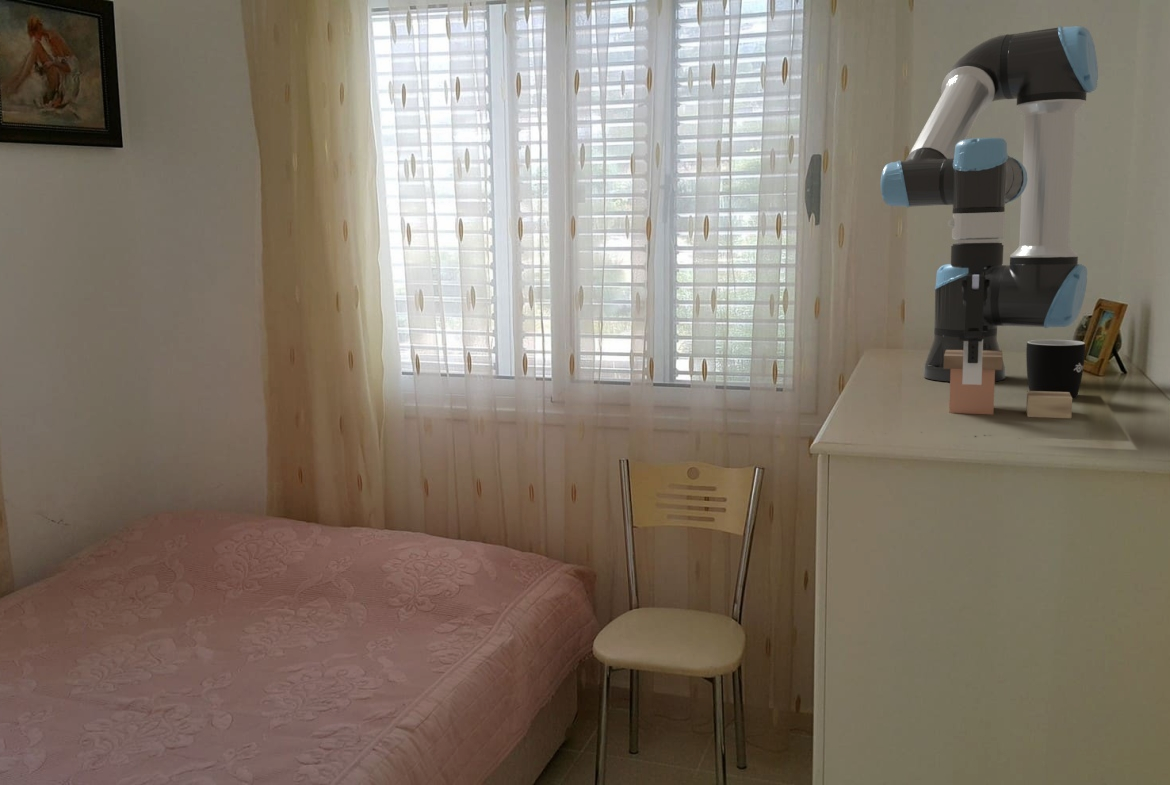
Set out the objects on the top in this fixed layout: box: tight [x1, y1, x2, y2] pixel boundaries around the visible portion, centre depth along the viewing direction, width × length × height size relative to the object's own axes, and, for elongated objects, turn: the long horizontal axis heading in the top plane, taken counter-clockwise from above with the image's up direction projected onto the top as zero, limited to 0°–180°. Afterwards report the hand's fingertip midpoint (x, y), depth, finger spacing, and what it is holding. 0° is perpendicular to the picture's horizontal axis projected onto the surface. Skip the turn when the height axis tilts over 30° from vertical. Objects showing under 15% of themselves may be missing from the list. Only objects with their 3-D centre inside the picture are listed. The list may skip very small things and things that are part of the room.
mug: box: [1025, 339, 1086, 400], centre depth 172 cm, size 12×9×10 cm
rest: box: [1025, 390, 1073, 419], centre depth 155 cm, size 6×6×4 cm
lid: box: [944, 350, 1004, 370], centre depth 159 cm, size 8×8×2 cm
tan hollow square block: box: [948, 369, 996, 415], centre depth 160 cm, size 6×6×8 cm
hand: (972, 378), depth 159 cm, fingers open, 13 cm apart
